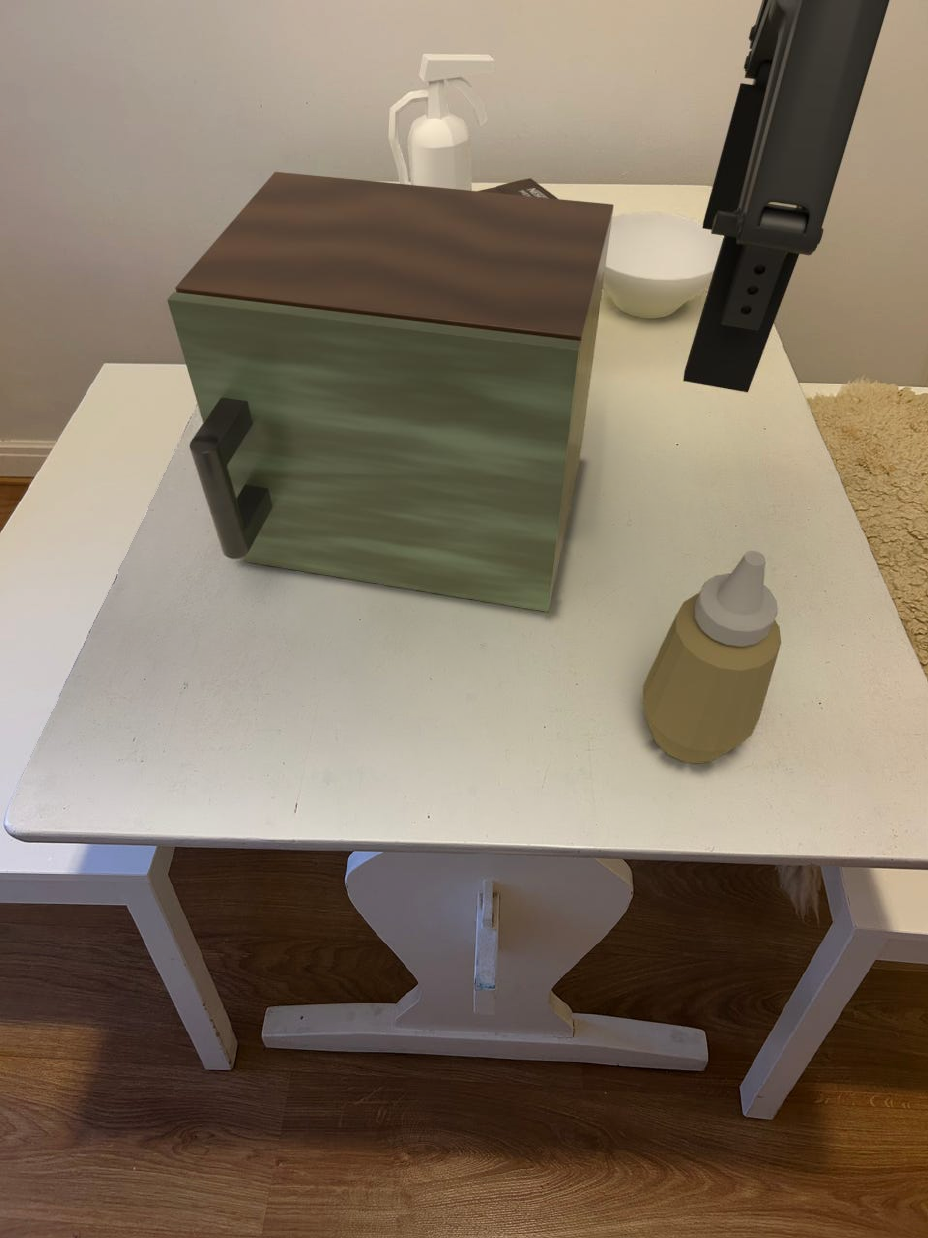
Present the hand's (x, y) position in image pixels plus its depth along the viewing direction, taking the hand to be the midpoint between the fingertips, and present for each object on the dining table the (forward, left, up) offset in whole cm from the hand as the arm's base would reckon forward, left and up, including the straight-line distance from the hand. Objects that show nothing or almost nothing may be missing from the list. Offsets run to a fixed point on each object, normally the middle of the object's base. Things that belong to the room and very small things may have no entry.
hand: (722, 298), depth 40 cm
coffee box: (-16, +43, -32) cm, 56 cm away
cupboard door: (-20, +3, -31) cm, 37 cm away
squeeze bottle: (+5, -3, -32) cm, 32 cm away
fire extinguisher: (-27, +51, -32) cm, 66 cm away
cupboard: (-20, +16, -32) cm, 41 cm away
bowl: (-3, +56, -32) cm, 64 cm away
